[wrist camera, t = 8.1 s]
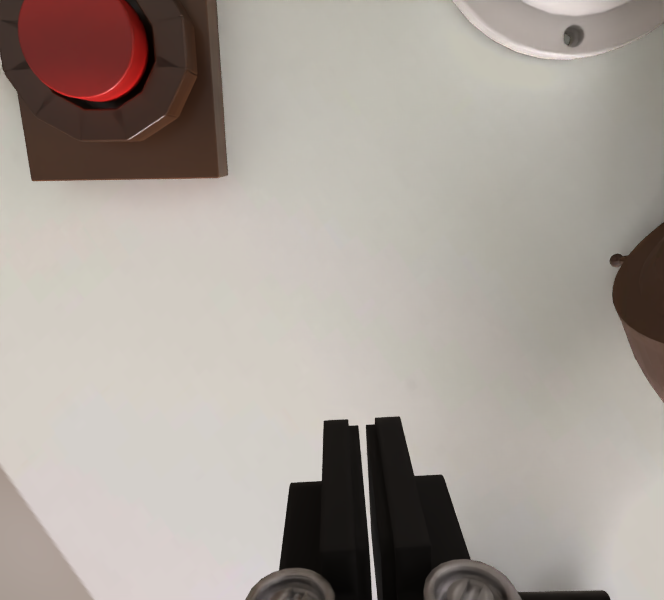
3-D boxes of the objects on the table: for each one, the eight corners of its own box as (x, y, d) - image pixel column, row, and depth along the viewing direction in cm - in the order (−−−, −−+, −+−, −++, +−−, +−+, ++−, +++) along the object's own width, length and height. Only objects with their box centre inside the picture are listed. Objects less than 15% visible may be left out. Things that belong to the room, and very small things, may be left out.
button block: (18, -69, 23) (-45, -113, 19) (212, -72, 23) (188, -116, 19) (55, 178, 25) (7, 184, 21) (228, 175, 25) (210, 180, 21)
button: (34, -13, 20) (7, -28, 18) (143, -15, 20) (126, -29, 18) (51, 103, 21) (27, 99, 19) (154, 101, 21) (139, 97, 19)
